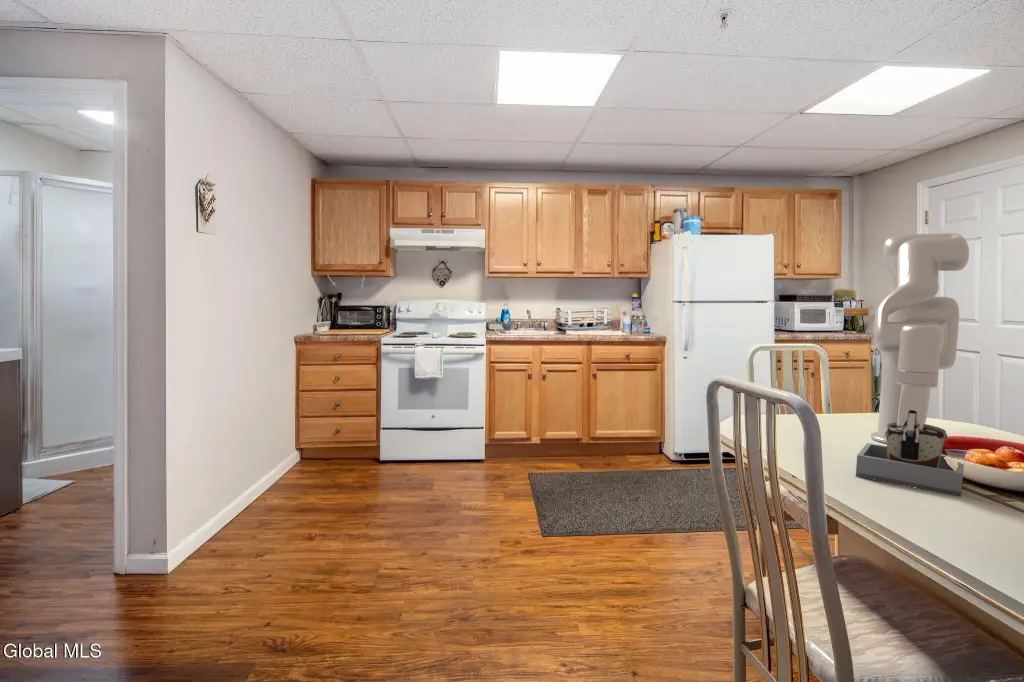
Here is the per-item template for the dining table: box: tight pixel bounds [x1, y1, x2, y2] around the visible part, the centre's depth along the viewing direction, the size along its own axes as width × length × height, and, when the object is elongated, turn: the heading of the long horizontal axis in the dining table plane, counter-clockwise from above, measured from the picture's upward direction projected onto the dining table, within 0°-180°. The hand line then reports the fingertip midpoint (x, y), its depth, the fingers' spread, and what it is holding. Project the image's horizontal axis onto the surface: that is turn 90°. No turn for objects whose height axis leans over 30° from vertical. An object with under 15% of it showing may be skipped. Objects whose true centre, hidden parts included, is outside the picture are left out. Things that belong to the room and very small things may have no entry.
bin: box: [855, 442, 965, 498], centre depth 127 cm, size 15×19×5 cm
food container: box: [883, 422, 949, 468], centre depth 127 cm, size 12×6×10 cm, turn 73°
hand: (910, 454), depth 127 cm, fingers closed on food container, 6 cm apart
